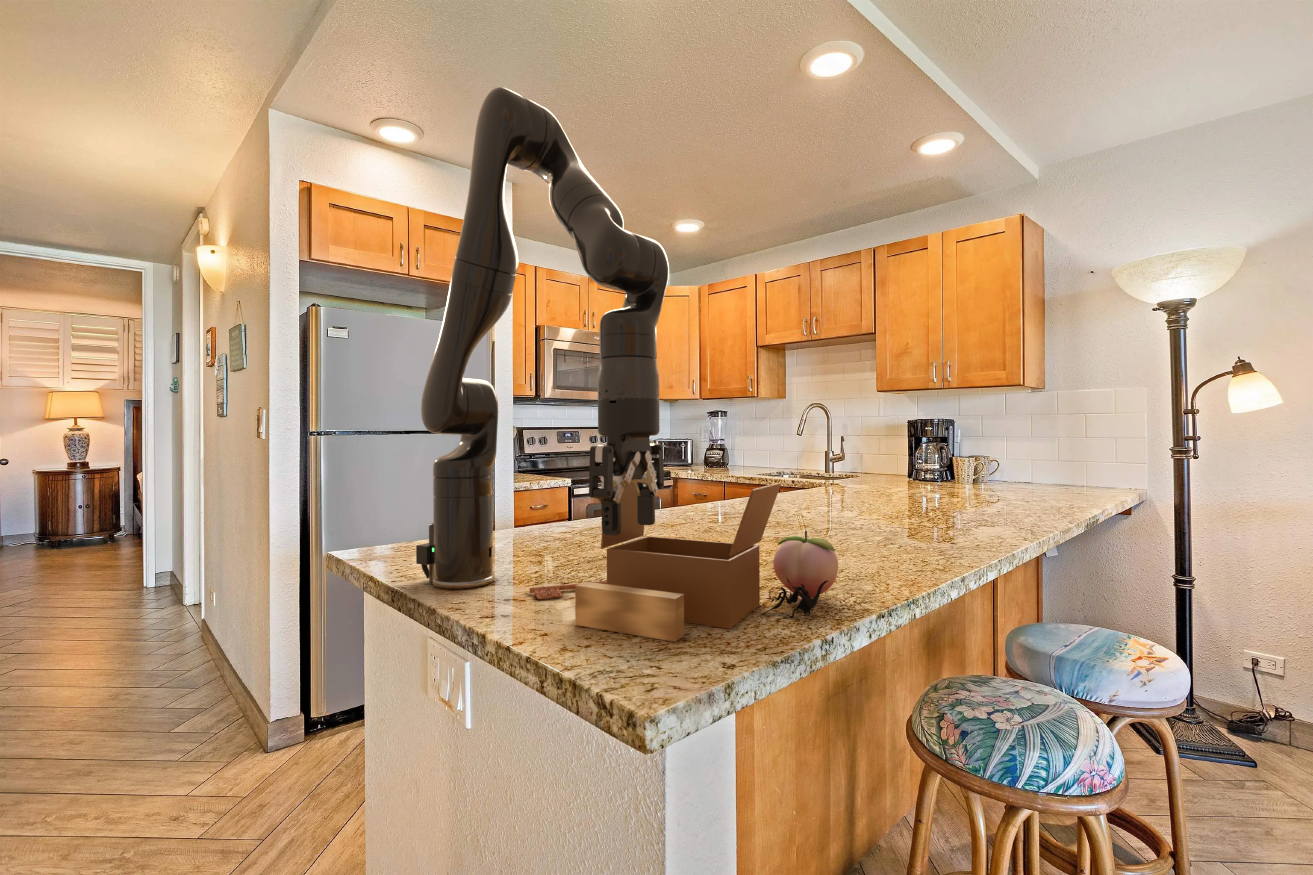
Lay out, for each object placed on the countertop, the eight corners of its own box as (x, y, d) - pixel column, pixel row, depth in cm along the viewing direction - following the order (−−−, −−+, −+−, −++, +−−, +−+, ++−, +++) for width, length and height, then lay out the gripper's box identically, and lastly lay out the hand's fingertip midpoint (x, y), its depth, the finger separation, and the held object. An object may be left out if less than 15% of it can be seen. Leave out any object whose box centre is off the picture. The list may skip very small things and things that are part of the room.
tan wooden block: (575, 625, 78) (575, 585, 78) (586, 620, 80) (585, 581, 80) (675, 641, 71) (675, 598, 71) (684, 635, 73) (684, 594, 73)
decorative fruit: (848, 597, 90) (848, 529, 90) (828, 611, 83) (828, 537, 83) (788, 588, 96) (787, 524, 96) (764, 600, 89) (764, 531, 89)
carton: (759, 605, 86) (759, 483, 86) (729, 628, 76) (729, 489, 76) (642, 590, 95) (641, 479, 95) (600, 609, 85) (600, 484, 84)
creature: (753, 620, 83) (794, 621, 77) (747, 579, 84) (787, 577, 77) (795, 611, 87) (838, 611, 81) (789, 572, 88) (831, 570, 82)
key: (533, 602, 89) (632, 592, 94) (533, 596, 89) (632, 586, 94) (527, 589, 95) (621, 580, 100) (527, 583, 95) (621, 574, 100)
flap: (758, 540, 86) (760, 541, 86) (728, 555, 76) (731, 556, 76) (779, 482, 85) (781, 483, 85) (751, 489, 75) (754, 490, 74)
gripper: (630, 400, 84) (631, 520, 84) (569, 394, 71) (570, 536, 71) (681, 398, 80) (682, 523, 80) (625, 392, 67) (627, 540, 67)
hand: (629, 529), depth 76 cm, fingers open, 8 cm apart
